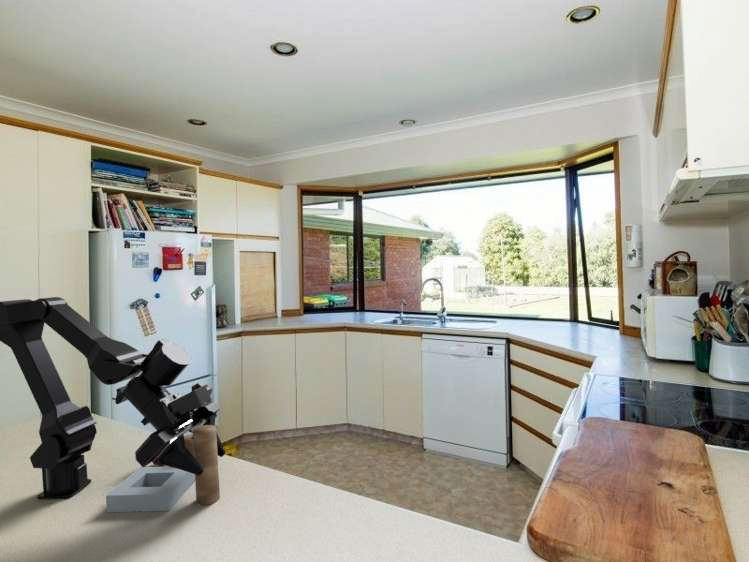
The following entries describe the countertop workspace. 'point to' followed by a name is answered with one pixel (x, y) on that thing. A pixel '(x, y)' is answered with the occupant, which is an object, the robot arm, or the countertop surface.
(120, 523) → the countertop surface
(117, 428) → the countertop surface
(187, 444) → the walnut peg short
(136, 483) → the collar block
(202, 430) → the walnut peg long
